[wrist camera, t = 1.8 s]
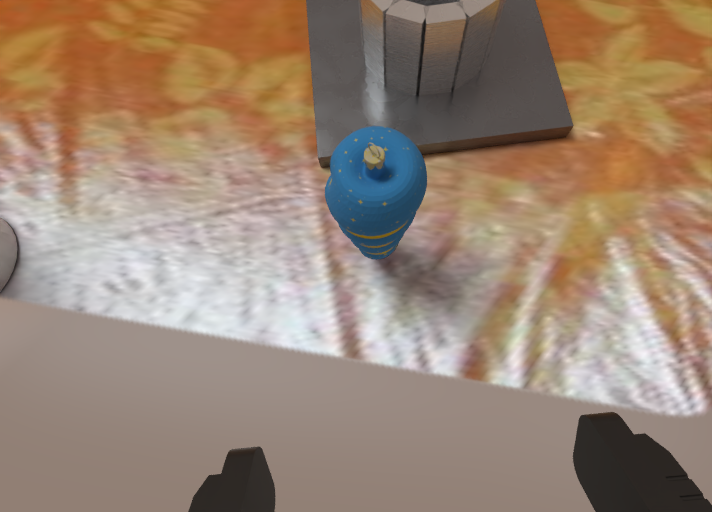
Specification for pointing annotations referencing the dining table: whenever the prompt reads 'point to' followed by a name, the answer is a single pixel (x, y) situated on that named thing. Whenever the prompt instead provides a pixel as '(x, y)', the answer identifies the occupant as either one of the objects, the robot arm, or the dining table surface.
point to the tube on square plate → (434, 73)
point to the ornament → (375, 188)
